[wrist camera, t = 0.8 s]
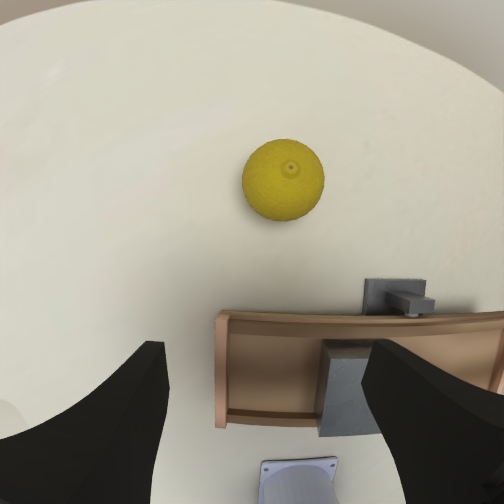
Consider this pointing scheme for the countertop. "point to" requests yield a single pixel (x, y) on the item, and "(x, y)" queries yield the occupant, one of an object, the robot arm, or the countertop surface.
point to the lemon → (283, 180)
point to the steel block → (343, 389)
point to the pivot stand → (396, 297)
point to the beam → (309, 350)
